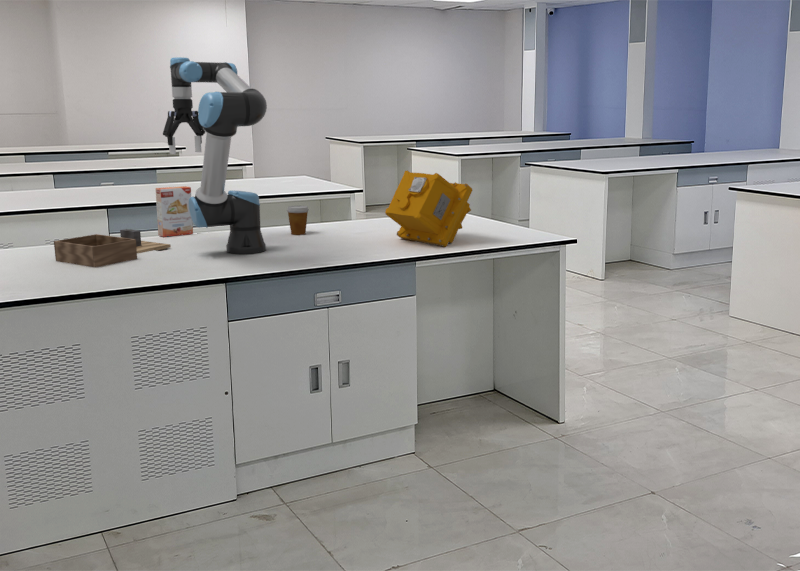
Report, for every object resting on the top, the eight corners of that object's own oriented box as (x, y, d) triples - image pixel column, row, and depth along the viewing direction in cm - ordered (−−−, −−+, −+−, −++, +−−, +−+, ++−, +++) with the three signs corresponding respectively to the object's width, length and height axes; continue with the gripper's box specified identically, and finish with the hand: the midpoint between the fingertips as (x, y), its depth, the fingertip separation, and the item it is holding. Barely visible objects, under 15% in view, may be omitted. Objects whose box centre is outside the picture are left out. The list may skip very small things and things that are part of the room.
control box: (458, 257, 316) (413, 222, 297) (413, 248, 336) (368, 215, 317) (485, 198, 321) (442, 160, 301) (439, 193, 341) (396, 157, 321)
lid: (170, 249, 308) (169, 229, 306) (132, 257, 292) (130, 236, 290) (131, 244, 320) (129, 224, 318) (92, 251, 304) (90, 231, 302)
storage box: (137, 260, 284) (135, 239, 282) (95, 269, 269) (93, 246, 267) (98, 255, 295) (96, 234, 293) (55, 263, 280) (53, 241, 279)
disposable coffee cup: (313, 233, 344) (313, 206, 341) (299, 236, 336) (299, 208, 333) (297, 231, 349) (296, 204, 346) (283, 234, 341) (282, 207, 338)
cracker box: (163, 237, 334) (160, 188, 329) (158, 235, 338) (154, 187, 333) (194, 234, 342) (191, 186, 338) (188, 232, 347) (185, 185, 342)
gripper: (198, 98, 318) (202, 151, 323) (150, 98, 297) (154, 154, 302) (212, 98, 314) (215, 151, 319) (164, 98, 293) (168, 155, 298)
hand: (185, 153), depth 311 cm, fingers open, 13 cm apart
